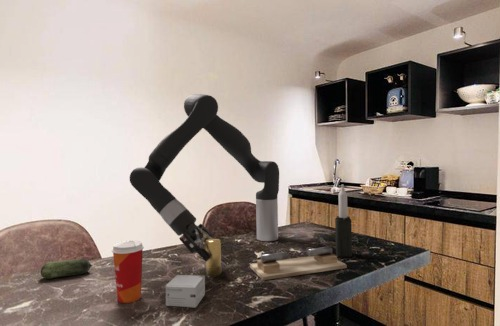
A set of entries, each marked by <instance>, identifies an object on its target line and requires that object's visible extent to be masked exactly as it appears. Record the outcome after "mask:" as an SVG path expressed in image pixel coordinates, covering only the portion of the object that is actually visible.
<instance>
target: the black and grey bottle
mask: <svg viewBox="0 0 500 326" xmlns="http://www.w3.org/2000/svg"><path fill="white" fill-rule="evenodd" d="M334 223H335V225H334V227H335V231H334V232H335V233H334V234H335V254H336V256H337V257H340V258H343V257H345V258H346V257H347V258H348V257H349V258H351V257H352V256H353V247H352V245H353V244H352V241H353V239H352V237H353V236H352V235H353V234H352V233H353V232H352V231H353V229H352V219H351V217H350V216H349V215H348V193H347V192H346V188H345V185H344V184H341V188H340V191H339V193H338V215H336V217H335V218H334Z"/></svg>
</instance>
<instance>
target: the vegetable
mask: <svg viewBox="0 0 500 326" xmlns="http://www.w3.org/2000/svg"><path fill="white" fill-rule="evenodd" d="M92 266H93V264H91V262H90V260H89V259H88V258H84V257H83V258H82V257H81V258H76V259H68V260H67V259H66V260H58V261H47V262H45V263H44V264H43V265H42V267H41V268H40V275H41V277H42V278H43V279H47V280H50V279H51V280H52V279H56V278H62V277H71V276H76V275H84V274H86V273H88V272H89V271H90V269H91V267H92Z"/></svg>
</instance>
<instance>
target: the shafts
mask: <svg viewBox="0 0 500 326" xmlns="http://www.w3.org/2000/svg"><path fill="white" fill-rule="evenodd" d="M327 254H333V248H332V246H322V247H315V248H308V249H307V250H306V255H307V257H308V256H309V257H312V256H319V255H327ZM287 259H289V257H288V253H287V251H283V252H281V251H280V252H274V253H265V254H260V260H261V262H262V263H265V262H273V261H281V260H287Z"/></svg>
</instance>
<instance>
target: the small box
mask: <svg viewBox="0 0 500 326" xmlns="http://www.w3.org/2000/svg"><path fill="white" fill-rule="evenodd" d="M205 295H206V277H205V275H195V274H189V275H188V274H187V275H185V274H177V275H175V276H173V278H172V279H171V280H170V281H169V282H168V283H167V284H166V285H165V306H166V307H182V308H183V307H185V308H197V307H198V305H199V303H200V302H201V301H202V299H203V298H204V296H205Z"/></svg>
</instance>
